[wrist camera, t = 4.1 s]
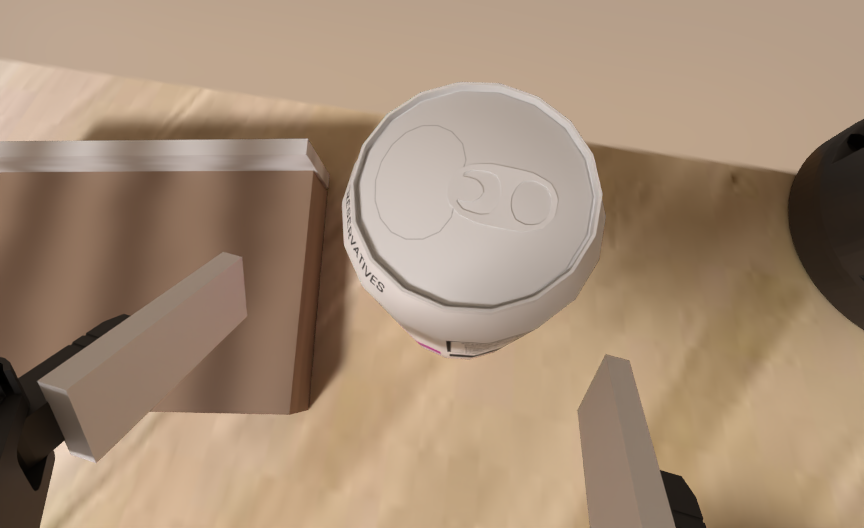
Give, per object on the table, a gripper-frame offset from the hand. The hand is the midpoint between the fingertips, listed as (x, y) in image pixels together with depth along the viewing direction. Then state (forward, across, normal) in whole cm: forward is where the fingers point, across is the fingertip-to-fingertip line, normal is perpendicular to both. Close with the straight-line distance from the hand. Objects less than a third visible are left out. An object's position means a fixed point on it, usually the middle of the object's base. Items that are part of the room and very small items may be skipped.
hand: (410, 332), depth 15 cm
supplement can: (+10, +1, -5) cm, 12 cm away
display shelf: (+7, -17, -8) cm, 20 cm away
